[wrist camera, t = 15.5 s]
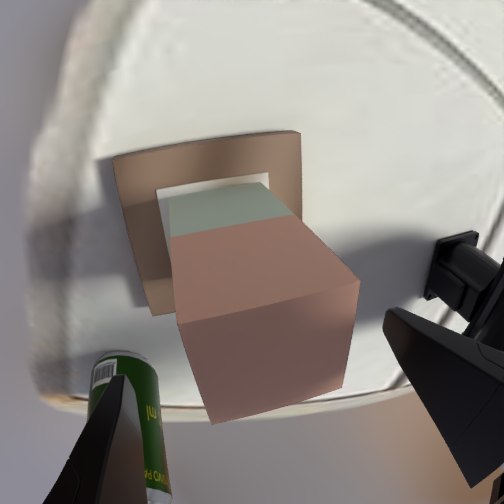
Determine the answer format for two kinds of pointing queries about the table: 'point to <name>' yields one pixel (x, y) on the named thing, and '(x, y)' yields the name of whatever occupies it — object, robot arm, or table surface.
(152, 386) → the beer can
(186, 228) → the brick sage
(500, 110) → the table surface
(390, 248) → the table surface
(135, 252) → the tower base
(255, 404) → the dusty pink cube
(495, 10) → the table surface
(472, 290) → the robot arm
